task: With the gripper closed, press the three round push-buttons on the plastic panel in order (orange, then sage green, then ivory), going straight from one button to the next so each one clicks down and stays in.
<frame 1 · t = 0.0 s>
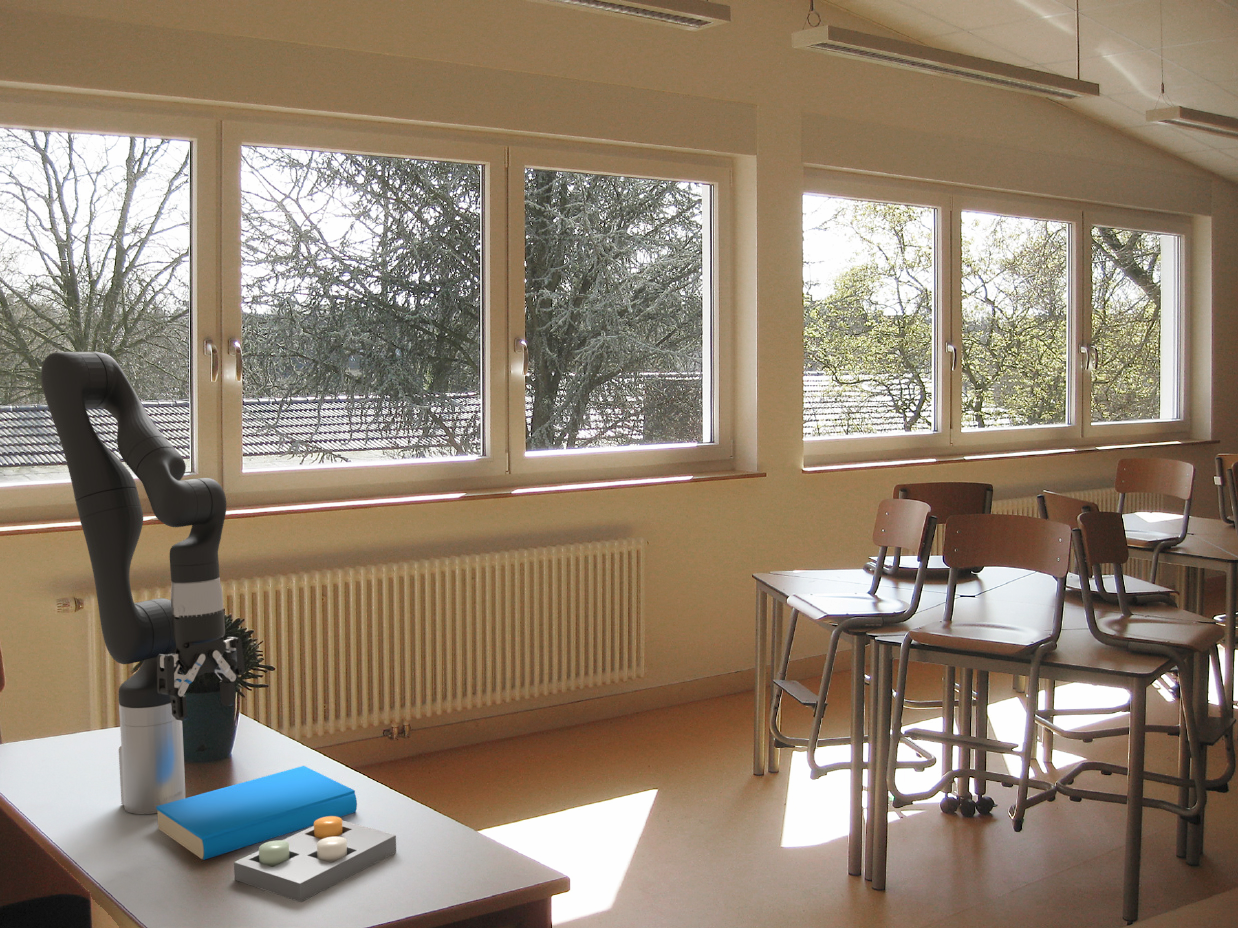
hand: (204, 712, 176), 17 cm above the table, tool pointing down, fingers open, 8 cm apart
button ivory: (332, 851, 158), point 3 cm above the table, slide at 0.0 cm
panel: (317, 865, 160), on the table
button sage: (274, 855, 157), point 3 cm above the table, slide at 0.0 cm
book: (258, 824, 177), on the table
button orange: (328, 829, 166), point 3 cm above the table, slide at 0.0 cm
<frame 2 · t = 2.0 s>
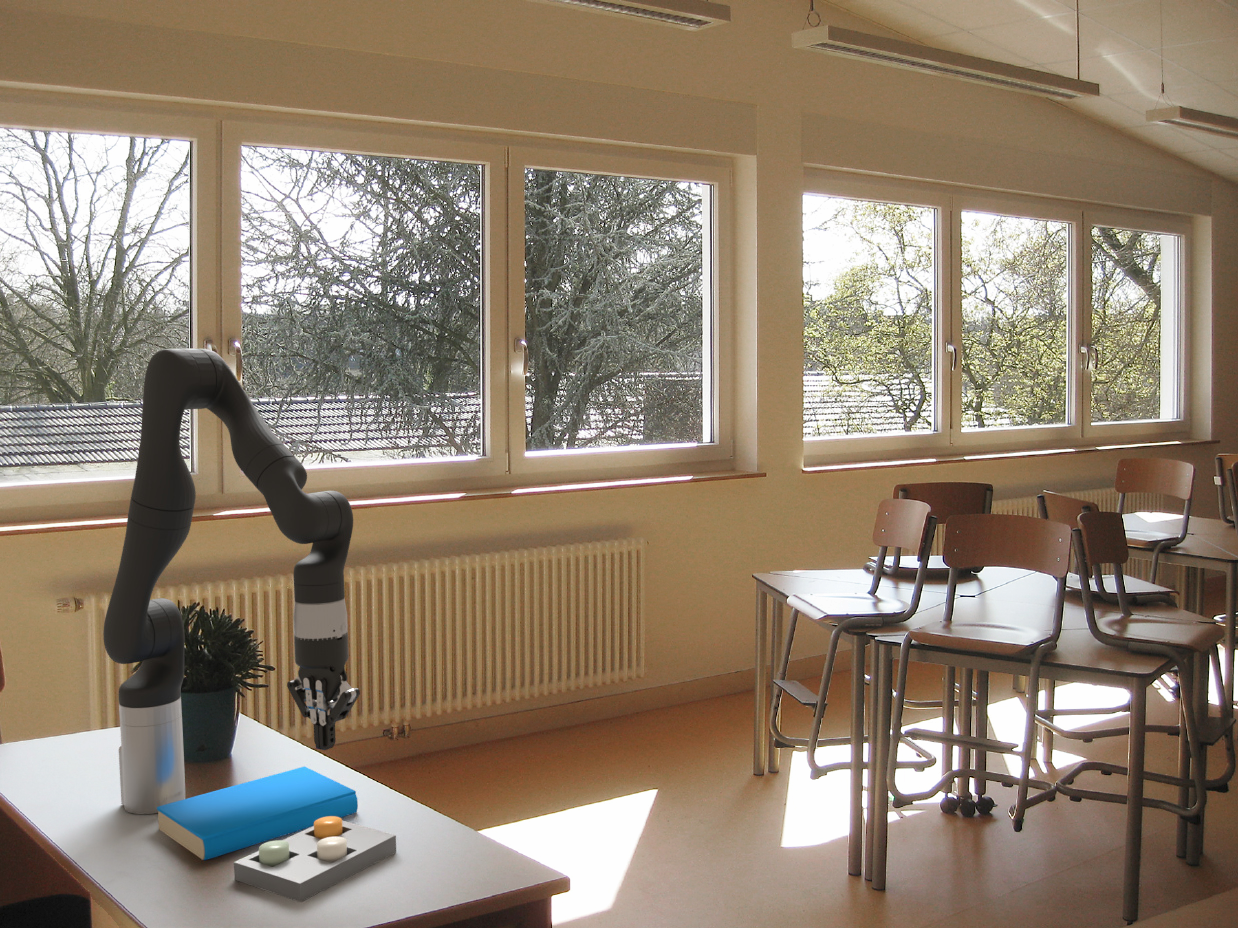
hand: (325, 748, 165), 15 cm above the table, tool pointing down, fingers closed
nothing on the table moved.
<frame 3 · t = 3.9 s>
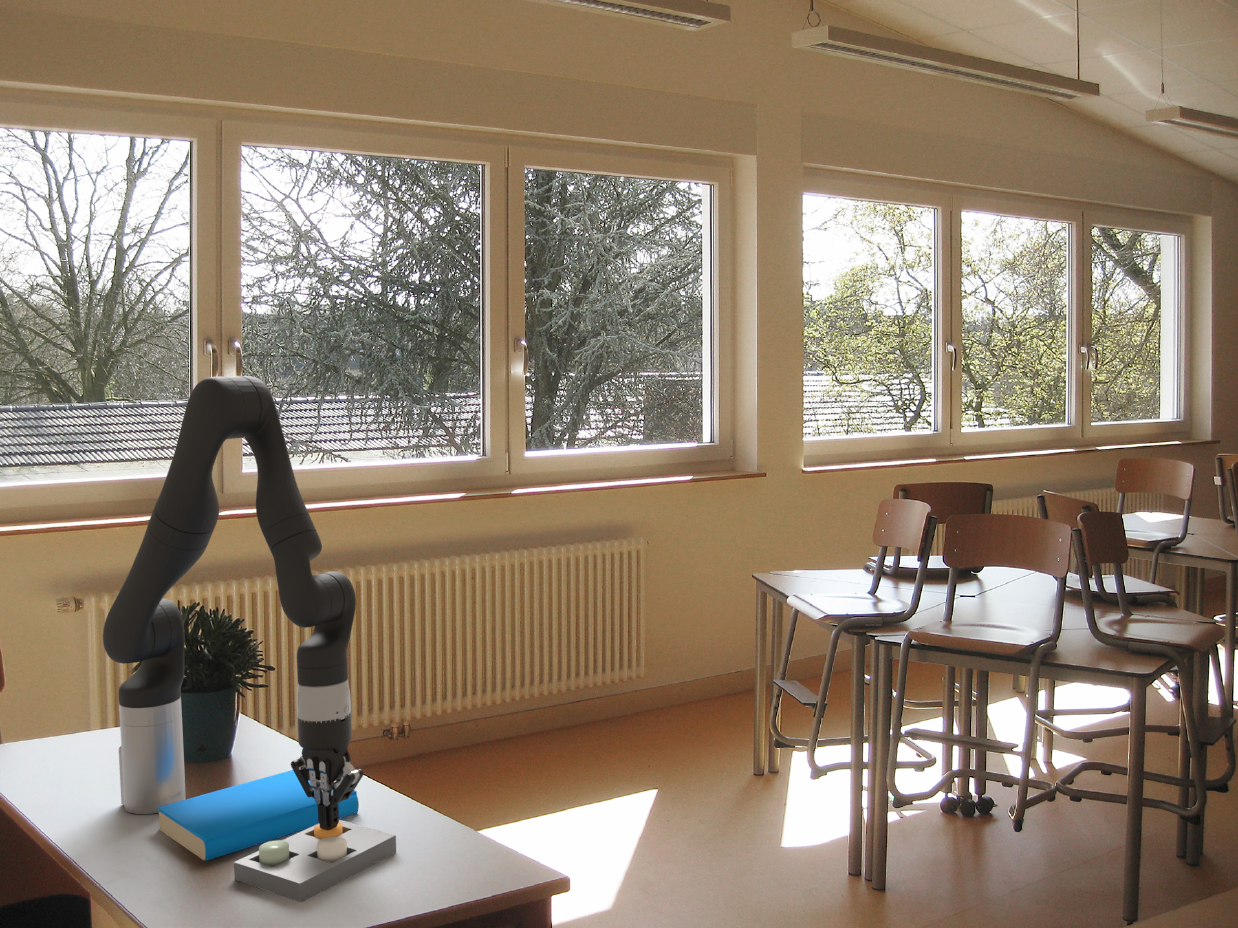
hand: (329, 827, 165), 3 cm above the table, tool pointing down, fingers closed
button orange: (328, 835, 166), point 2 cm above the table, slide at 0.9 cm, touching gripper
everything else where it was.
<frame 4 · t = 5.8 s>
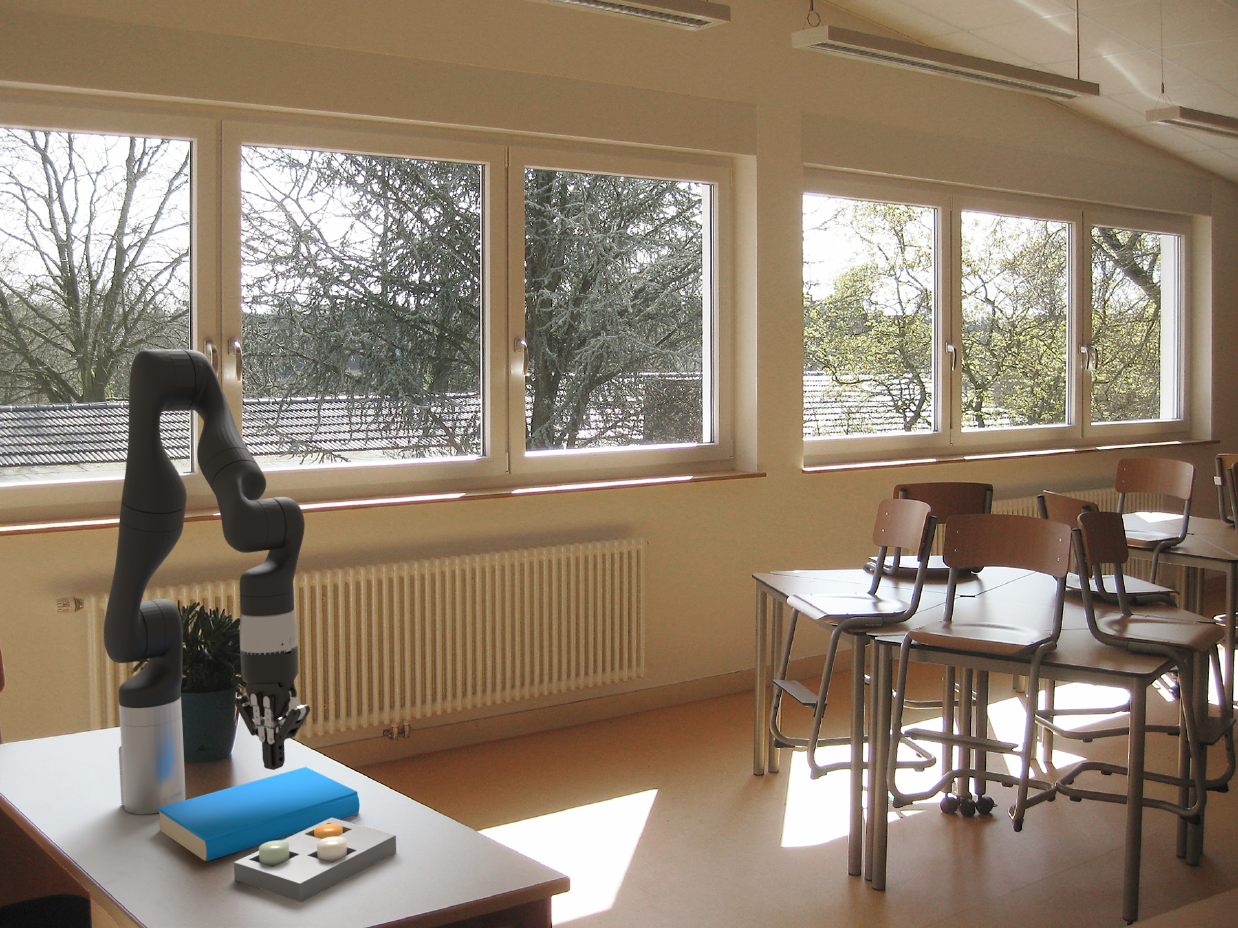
hand: (274, 767, 157), 15 cm above the table, tool pointing down, fingers closed
button orange: (328, 837, 166), point 2 cm above the table, slide at 1.1 cm
everything else where it was.
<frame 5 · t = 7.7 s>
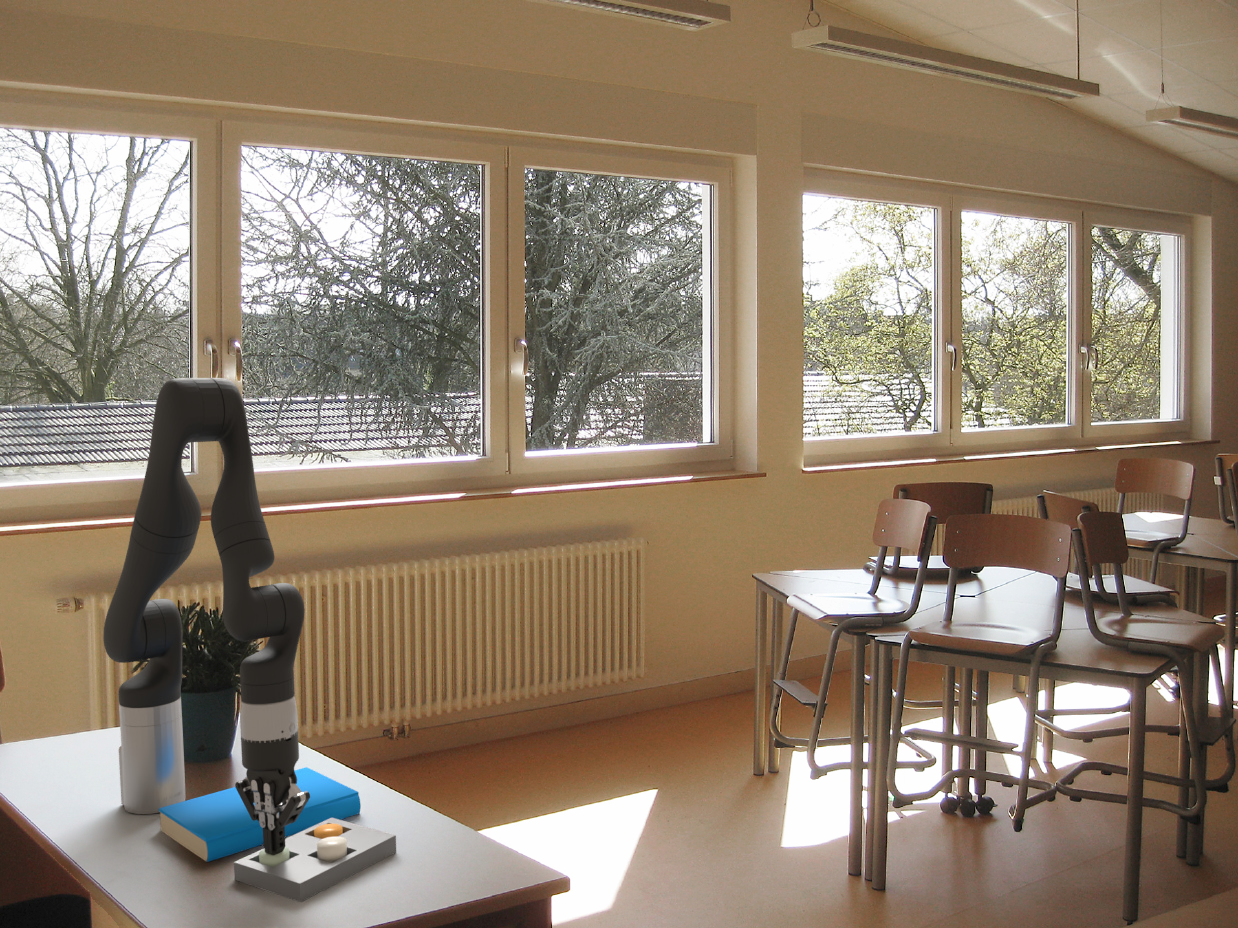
hand: (274, 852, 157), 3 cm above the table, tool pointing down, fingers closed
button sage: (274, 860, 157), point 2 cm above the table, slide at 0.8 cm, touching gripper
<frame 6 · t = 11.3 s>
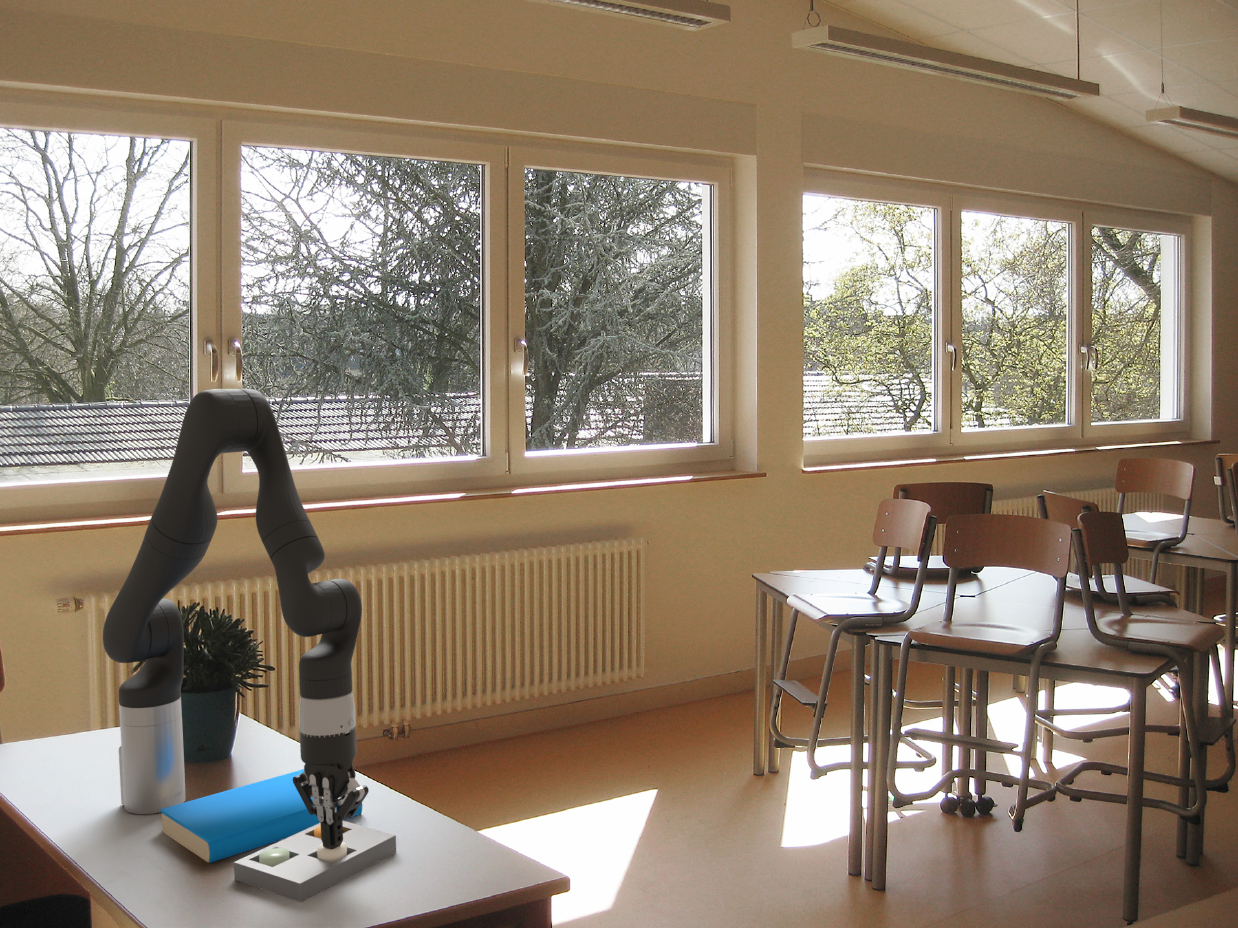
hand: (332, 846, 158), 3 cm above the table, tool pointing down, fingers closed
button ivory: (332, 855, 158), point 2 cm above the table, slide at 0.6 cm, touching gripper
button sage: (274, 862, 157), point 2 cm above the table, slide at 1.1 cm
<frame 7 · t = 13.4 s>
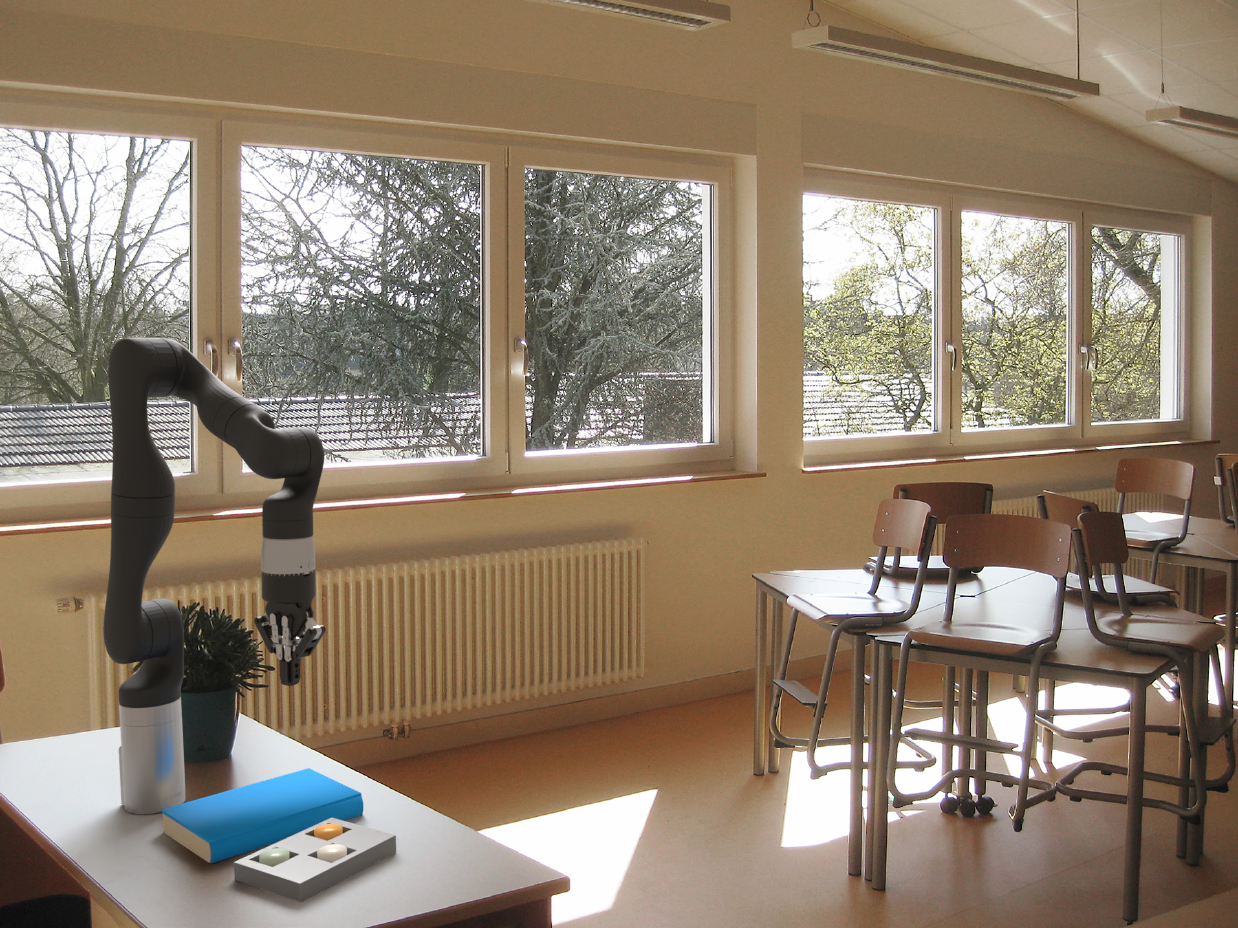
hand: (290, 684, 165), 24 cm above the table, tool pointing down, fingers closed
button ivory: (332, 858, 158), point 2 cm above the table, slide at 1.1 cm
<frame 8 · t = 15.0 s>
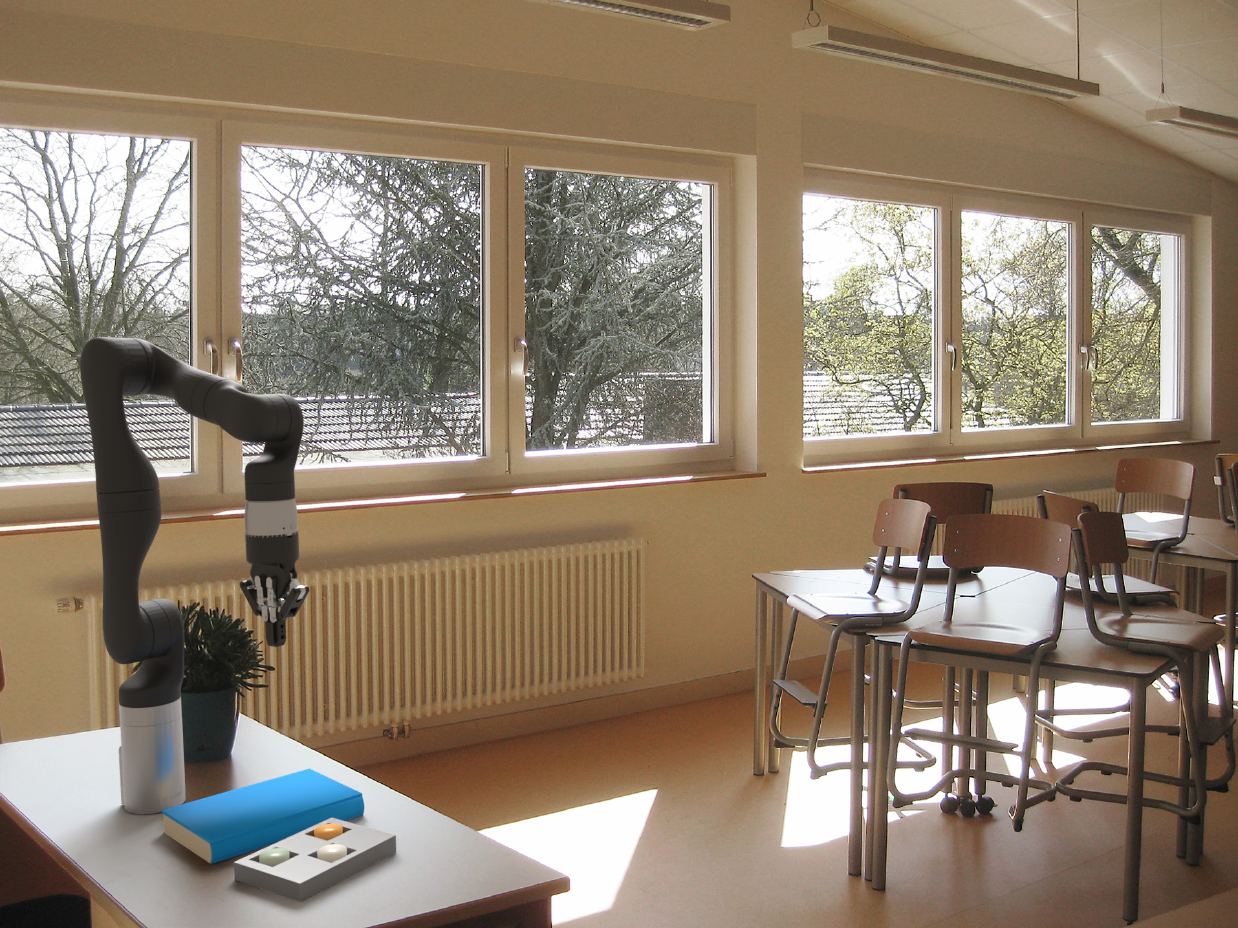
hand: (276, 645, 169), 29 cm above the table, tool pointing down, fingers closed
at the end: button orange slide at 1.1 cm; button sage slide at 1.1 cm; button ivory slide at 1.1 cm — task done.
